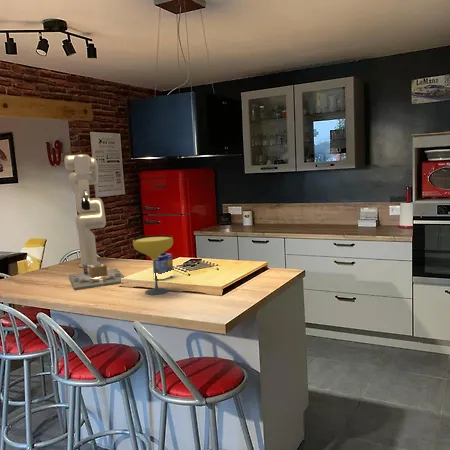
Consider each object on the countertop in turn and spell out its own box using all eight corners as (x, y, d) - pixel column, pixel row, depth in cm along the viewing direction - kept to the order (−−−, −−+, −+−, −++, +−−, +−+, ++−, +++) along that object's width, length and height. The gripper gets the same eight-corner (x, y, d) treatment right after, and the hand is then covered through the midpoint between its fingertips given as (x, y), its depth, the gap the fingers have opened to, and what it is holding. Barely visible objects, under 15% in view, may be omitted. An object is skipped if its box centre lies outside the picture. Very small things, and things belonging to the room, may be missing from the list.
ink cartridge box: (161, 280, 237) (159, 252, 235) (153, 279, 240) (151, 252, 238) (174, 276, 245) (172, 249, 243) (166, 275, 248) (164, 248, 246)
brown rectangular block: (89, 276, 242) (88, 266, 241) (104, 273, 246) (103, 263, 246) (92, 277, 238) (91, 267, 237) (107, 275, 242) (106, 265, 241)
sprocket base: (69, 277, 257) (68, 271, 256) (116, 270, 266) (116, 265, 266) (74, 290, 227) (74, 283, 227) (128, 282, 237) (127, 276, 237)
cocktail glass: (133, 290, 222) (129, 237, 218) (171, 284, 228) (167, 233, 225) (141, 299, 205) (136, 243, 202) (181, 293, 211) (177, 238, 208)
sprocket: (63, 280, 242) (61, 268, 241) (96, 270, 263) (95, 259, 262) (97, 284, 230) (96, 271, 230) (130, 273, 251) (129, 261, 250)
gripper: (74, 178, 259) (77, 209, 261) (77, 178, 243) (80, 211, 245) (88, 177, 262) (91, 207, 264) (92, 177, 246) (95, 209, 248)
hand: (85, 209), depth 255 cm, fingers open, 9 cm apart
